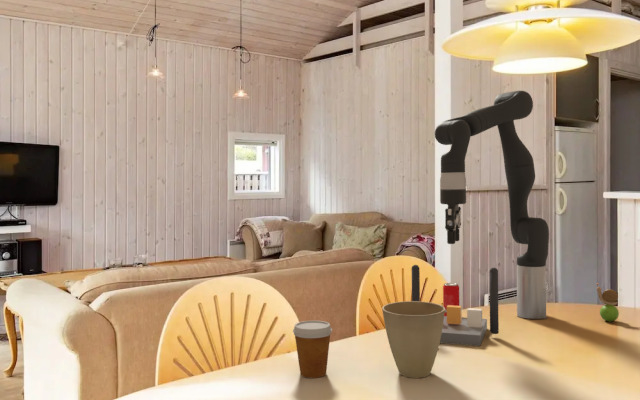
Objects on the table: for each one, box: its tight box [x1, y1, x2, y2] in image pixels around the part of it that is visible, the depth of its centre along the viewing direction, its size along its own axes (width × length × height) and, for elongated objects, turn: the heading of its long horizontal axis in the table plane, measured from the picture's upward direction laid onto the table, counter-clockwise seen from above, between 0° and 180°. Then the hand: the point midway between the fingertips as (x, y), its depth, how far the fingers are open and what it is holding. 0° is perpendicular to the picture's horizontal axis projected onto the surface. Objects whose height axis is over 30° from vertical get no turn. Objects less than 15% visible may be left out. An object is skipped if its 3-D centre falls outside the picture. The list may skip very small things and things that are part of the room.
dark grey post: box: [488, 267, 500, 335], centre depth 169 cm, size 2×2×19 cm
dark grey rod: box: [411, 264, 421, 302], centre depth 177 cm, size 2×2×19 cm
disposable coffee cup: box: [292, 320, 333, 379], centre depth 140 cm, size 10×10×12 cm
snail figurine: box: [596, 282, 620, 322], centre depth 186 cm, size 5×6×12 cm
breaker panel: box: [439, 307, 488, 347], centre depth 173 cm, size 17×20×8 cm
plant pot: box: [381, 300, 445, 379], centre depth 139 cm, size 15×15×16 cm
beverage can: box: [442, 282, 460, 316], centre depth 191 cm, size 5×5×12 cm
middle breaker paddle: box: [447, 305, 463, 324], centre depth 173 cm, size 4×2×5 cm, turn 69°
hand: (453, 242), depth 173 cm, fingers open, 8 cm apart
